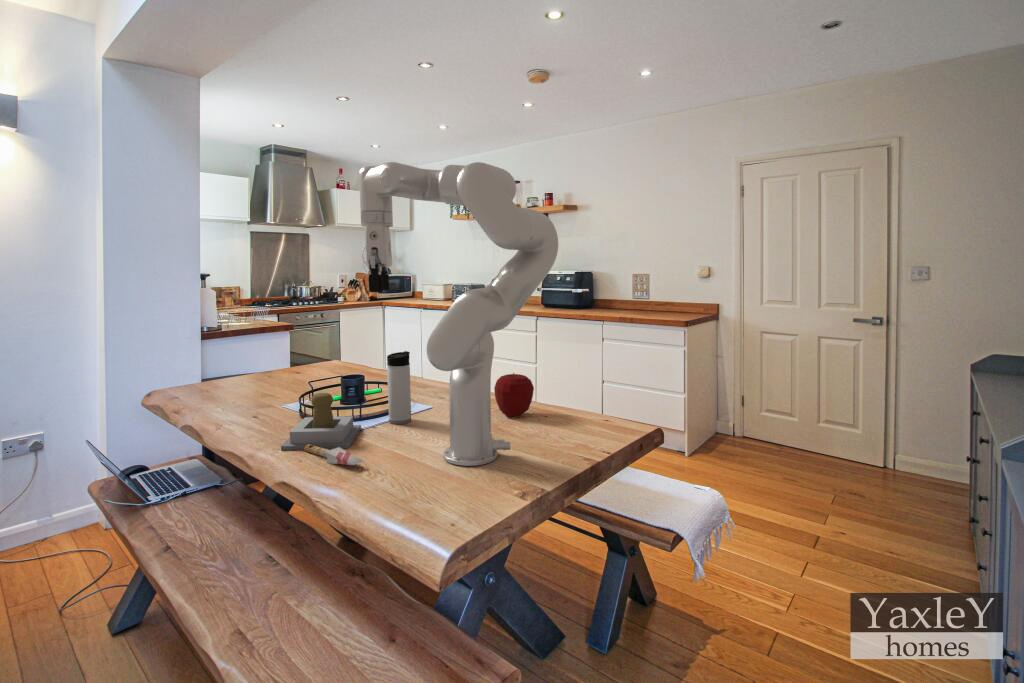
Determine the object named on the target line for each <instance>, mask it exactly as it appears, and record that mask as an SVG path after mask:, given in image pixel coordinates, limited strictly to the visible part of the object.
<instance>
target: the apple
mask: <svg viewBox="0 0 1024 683" xmlns="http://www.w3.org/2000/svg"><path fill="white" fill-rule="evenodd" d="M493 388H494V390H493V391H494V397H495V401H496V403H497V407H498V409H499V411H500V412H501V413H502V414H503V415H504V416H505V417H506V418H511V419H513V418H514V419H515V418H519V417H521V416H523V415H524V414H525V413H526V412H527V411H528V410H529V409H530V407H531V406H530V405H531V403H532V401H533V396H534V390H535V388H534V385H533V381H532V380H531V379H530V378H529V377H528V376H527V375H524V374H519V373H515V372H513V373H511V374H505V375H501V376H500V377H499V378H497V380H496V382H495V384H494V387H493Z"/></svg>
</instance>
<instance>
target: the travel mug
mask: <svg viewBox="0 0 1024 683" xmlns="http://www.w3.org/2000/svg"><path fill="white" fill-rule="evenodd" d="M386 361H387V363H386V366H387V369H386V371H387V374H386V375H387V397H388V422H389V424H391V425H405V424H408V423H411V422H412V403H411V401H412V398H411V396H412V394H411V393H412V392H411V366H410V365H411V363H410V351H407V350H405V351H401V352H394V353H390V354H388V355H387V356H386Z"/></svg>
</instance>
